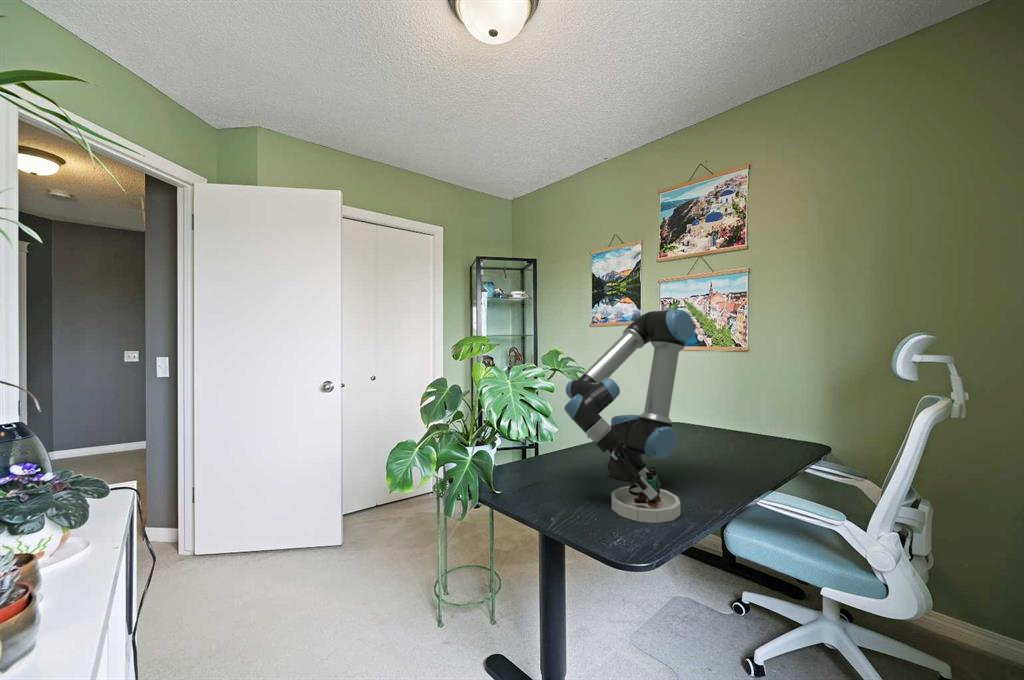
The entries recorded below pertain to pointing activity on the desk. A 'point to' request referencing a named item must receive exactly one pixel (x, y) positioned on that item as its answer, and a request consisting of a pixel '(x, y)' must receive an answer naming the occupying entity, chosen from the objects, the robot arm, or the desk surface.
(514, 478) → the desk surface
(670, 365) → the robot arm
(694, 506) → the desk surface
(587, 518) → the desk surface
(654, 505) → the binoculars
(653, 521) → the dish
